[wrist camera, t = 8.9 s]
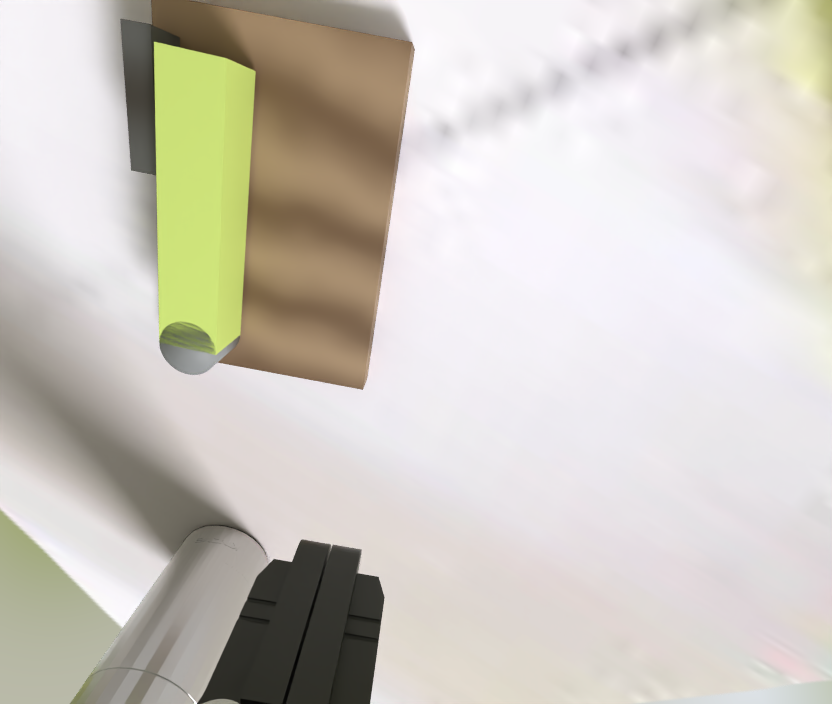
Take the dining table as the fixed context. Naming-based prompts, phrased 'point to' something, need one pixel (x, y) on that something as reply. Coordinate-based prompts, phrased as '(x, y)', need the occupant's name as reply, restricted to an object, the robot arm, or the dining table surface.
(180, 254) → the yellow-green long bar
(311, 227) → the board
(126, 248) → the dining table surface
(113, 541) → the dining table surface
